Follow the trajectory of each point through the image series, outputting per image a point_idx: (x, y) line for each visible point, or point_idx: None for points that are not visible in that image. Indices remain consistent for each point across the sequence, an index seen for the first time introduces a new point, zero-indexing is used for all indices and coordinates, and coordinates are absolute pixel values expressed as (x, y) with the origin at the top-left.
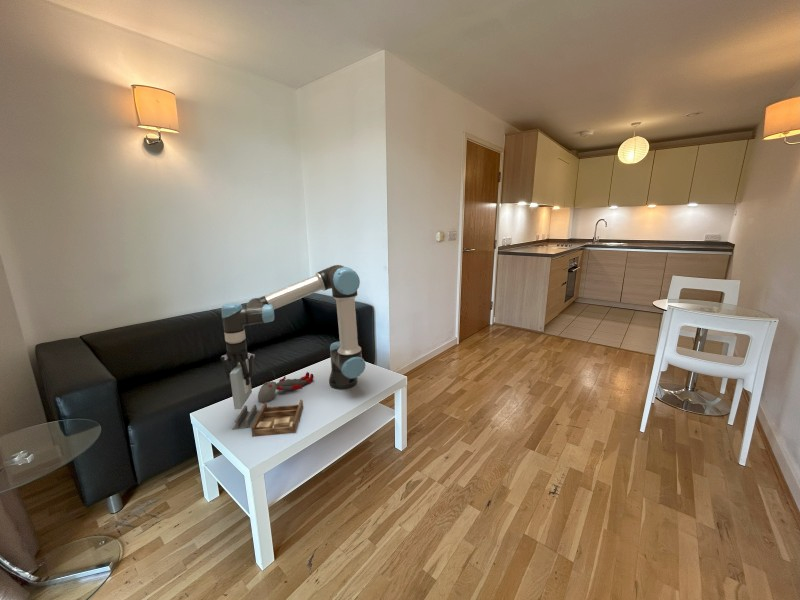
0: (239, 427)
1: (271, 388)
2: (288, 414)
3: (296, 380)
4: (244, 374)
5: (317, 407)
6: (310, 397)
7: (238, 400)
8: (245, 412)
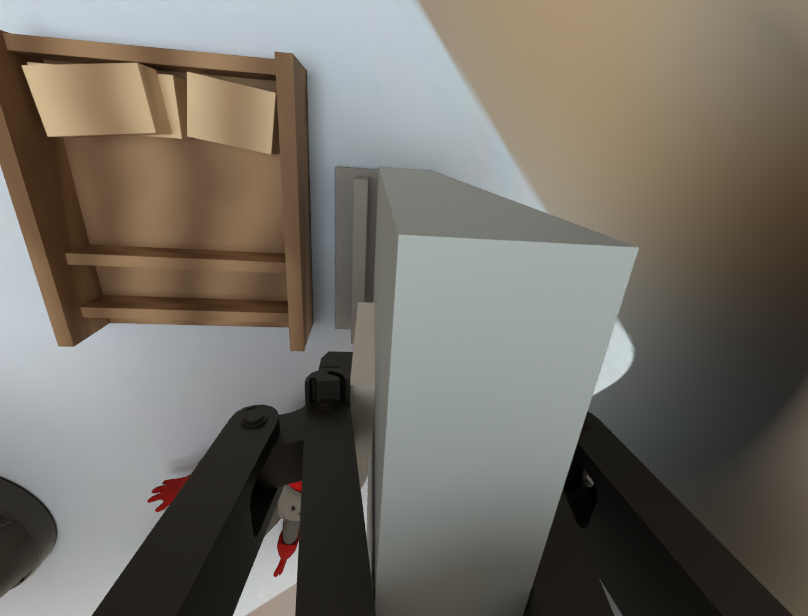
0: None
1: None
2: (145, 250)
3: None
4: (340, 441)
5: (22, 320)
6: (109, 417)
7: (395, 172)
8: None
